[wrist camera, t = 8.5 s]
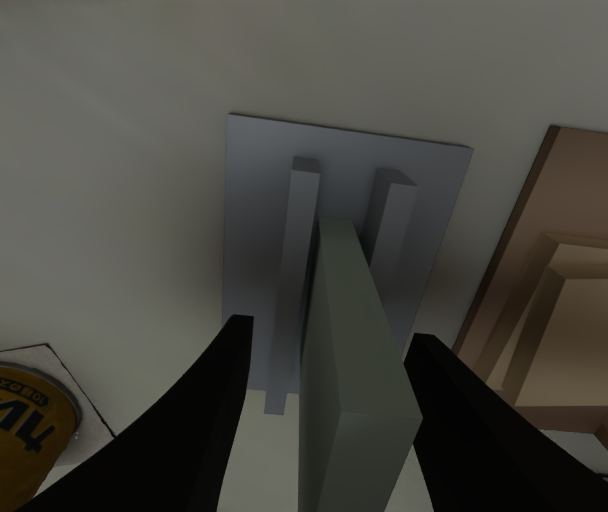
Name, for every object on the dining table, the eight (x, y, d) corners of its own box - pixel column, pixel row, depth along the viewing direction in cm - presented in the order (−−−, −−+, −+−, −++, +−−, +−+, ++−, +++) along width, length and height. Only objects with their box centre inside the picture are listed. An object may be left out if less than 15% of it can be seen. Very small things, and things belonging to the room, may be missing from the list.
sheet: (326, 347, 15) (349, 593, 8) (299, 344, 15) (296, 591, 7) (351, 220, 12) (422, 417, 5) (318, 216, 12) (341, 411, 5)
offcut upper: (603, 385, 14) (623, 405, 13) (501, 386, 14) (514, 406, 14) (671, 263, 12) (702, 278, 11) (545, 264, 12) (566, 279, 11)
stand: (383, 393, 17) (395, 440, 14) (222, 378, 16) (209, 424, 14) (467, 146, 11) (507, 160, 9) (229, 112, 11) (211, 119, 9)
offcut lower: (574, 381, 16) (590, 398, 15) (472, 370, 15) (482, 388, 14) (667, 248, 12) (695, 260, 12) (541, 232, 12) (560, 243, 11)
